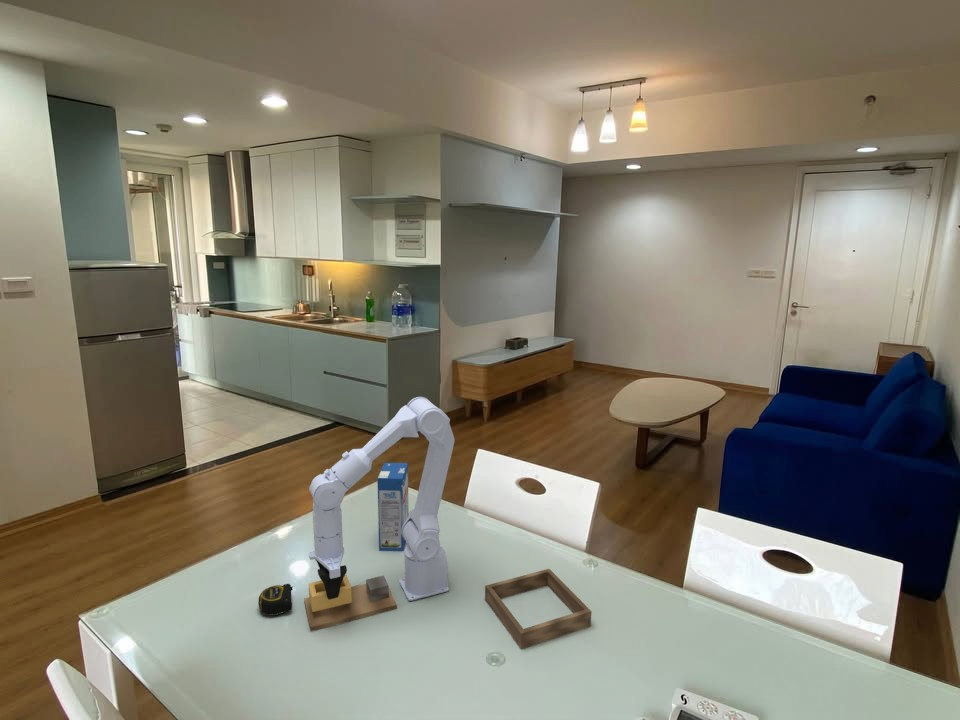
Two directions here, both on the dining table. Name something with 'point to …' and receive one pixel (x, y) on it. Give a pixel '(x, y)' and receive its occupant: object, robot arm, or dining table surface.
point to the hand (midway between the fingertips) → (330, 589)
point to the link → (320, 597)
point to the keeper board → (354, 605)
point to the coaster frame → (543, 630)
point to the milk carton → (392, 505)
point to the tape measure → (276, 599)
